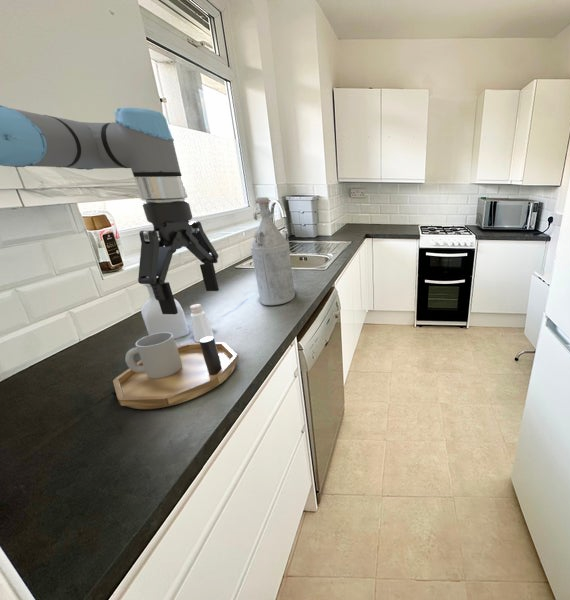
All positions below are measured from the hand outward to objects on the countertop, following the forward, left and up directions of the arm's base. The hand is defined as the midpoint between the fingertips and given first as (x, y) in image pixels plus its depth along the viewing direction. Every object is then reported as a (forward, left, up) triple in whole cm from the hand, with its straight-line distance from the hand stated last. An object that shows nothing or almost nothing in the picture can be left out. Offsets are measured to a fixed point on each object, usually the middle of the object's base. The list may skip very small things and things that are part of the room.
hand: (193, 301), depth 69 cm
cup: (-14, 0, -19) cm, 24 cm away
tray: (-8, 0, -21) cm, 22 cm away
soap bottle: (-27, +20, -21) cm, 40 cm away
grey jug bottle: (-7, +53, -21) cm, 57 cm away
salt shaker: (-16, +20, -21) cm, 33 cm away
